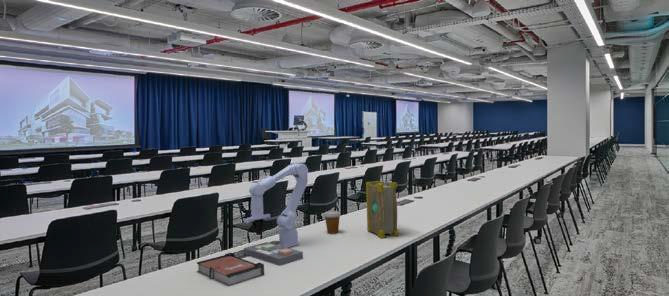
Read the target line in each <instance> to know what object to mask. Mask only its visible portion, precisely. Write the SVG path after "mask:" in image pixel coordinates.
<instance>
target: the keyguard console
mask: <svg viewBox="0 0 669 296" xmlns="http://www.w3.org/2000/svg"><path fill="white" fill-rule="evenodd" d="M267 244H272V245H275V249H273V250H276V249H279V250H282V249H290V250H293V254H290V255H286V256H283V255H279V254H278V253H272V252H270V251H273V250H269V251H265V250H262V249H261V248H260V249H259V248H255V246H259V245H267ZM243 254H244V255H245V256H249V257H251V258H255V259H258V260H261V261H264V262H266V263H270V264H273V265H276V266H279V267H280V266H283V265H286V264H288V263H292V262H295V261H299V260H301V259H304V252H303V251H301V250H298V249H293V248H291V247H288V248H287V247H283V246H279V245H278V244H275V243H271V242H262V243H258V244H255V245H254V244H253V245H251V246H248V247H244V248H243Z"/></svg>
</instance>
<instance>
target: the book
mask: <svg viewBox="0 0 669 296" xmlns="http://www.w3.org/2000/svg"><path fill="white" fill-rule="evenodd" d="M196 264H197V268H198V269H197V271H196V272H197V273H199V274H202V275H204V276H206V277H208V278H209V279H211V280H212V279H213V280H215V281H217V282H219V283H222V284H224V285H226V286H228V287H230V286H233V285H236V284H239V283H243V282H246V281H250V280H251V279H253V280H254V279H256V278H258V277H261V276H264V275H265V265H264V263H261V262H257V263H254V262H251V261H250V260H247V259H243V258H241V257H237V256H235V253H233V252H228V253H225V254H223V255H219V256H216V257H212V258H208V259H204V260H200V261H196Z"/></svg>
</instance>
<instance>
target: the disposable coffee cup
mask: <svg viewBox="0 0 669 296" xmlns="http://www.w3.org/2000/svg"><path fill="white" fill-rule="evenodd" d="M340 216H341V213H340V211H336V210H330V211H325V212H324V218H325V224H326V232H327V234H328V235H336V234H339V227H340Z"/></svg>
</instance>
